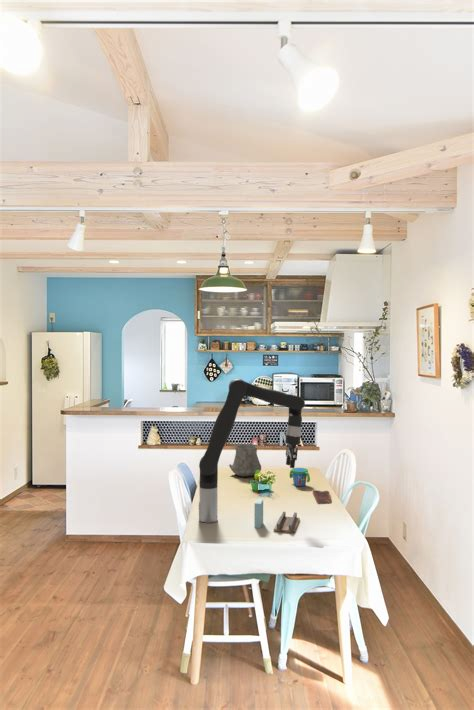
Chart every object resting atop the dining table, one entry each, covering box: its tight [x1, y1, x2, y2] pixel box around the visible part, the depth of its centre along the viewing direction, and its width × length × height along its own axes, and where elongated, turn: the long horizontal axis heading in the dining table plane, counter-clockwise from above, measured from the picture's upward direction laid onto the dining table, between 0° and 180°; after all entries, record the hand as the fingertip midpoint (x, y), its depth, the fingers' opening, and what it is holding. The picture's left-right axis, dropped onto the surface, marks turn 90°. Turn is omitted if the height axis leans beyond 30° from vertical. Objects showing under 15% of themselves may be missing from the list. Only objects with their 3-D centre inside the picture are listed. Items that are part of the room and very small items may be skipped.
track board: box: [273, 511, 301, 534], centre depth 269 cm, size 10×20×4 cm, turn 166°
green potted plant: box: [249, 470, 263, 492], centre depth 335 cm, size 11×9×11 cm
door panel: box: [254, 498, 264, 529], centre depth 269 cm, size 3×7×12 cm, turn 166°
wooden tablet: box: [312, 489, 333, 505], centre depth 318 cm, size 26×2×10 cm
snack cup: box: [289, 467, 311, 487], centre depth 344 cm, size 16×10×10 cm
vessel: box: [228, 444, 262, 478], centre depth 371 cm, size 22×22×20 cm
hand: (290, 466), depth 276 cm, fingers open, 8 cm apart
